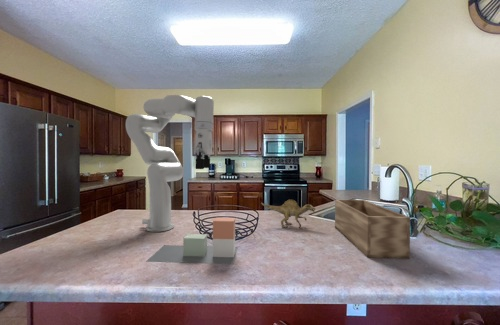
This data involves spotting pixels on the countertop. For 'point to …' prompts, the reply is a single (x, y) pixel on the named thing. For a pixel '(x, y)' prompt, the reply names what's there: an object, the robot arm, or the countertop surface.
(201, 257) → the baseplate
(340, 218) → the toy crate
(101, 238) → the countertop surface
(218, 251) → the offwhite brick
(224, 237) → the terracotta brick
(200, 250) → the sage brick
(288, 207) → the dinosaur figurine
